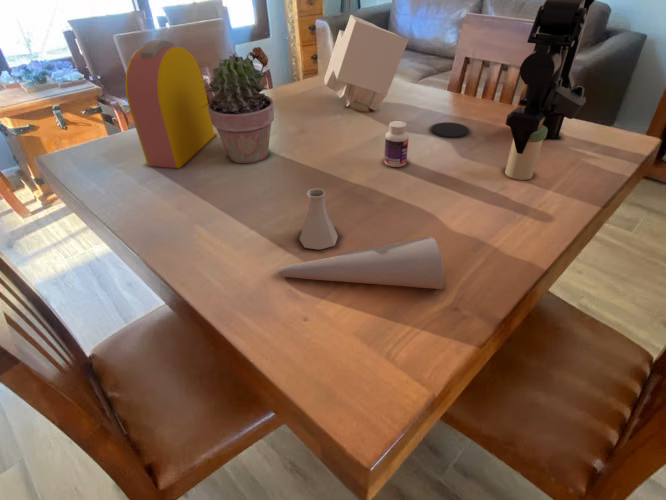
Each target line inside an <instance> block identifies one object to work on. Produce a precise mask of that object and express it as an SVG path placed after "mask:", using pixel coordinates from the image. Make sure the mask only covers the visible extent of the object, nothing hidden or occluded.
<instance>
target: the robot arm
mask: <svg viewBox="0 0 666 500" xmlns="http://www.w3.org/2000/svg"><path fill="white" fill-rule="evenodd" d="M595 1H596V0H545V1H544V2H543V5H540V6H539V8H538V10H537V12H536V16H535V19H534V21H533V23H532V24H533V25H532V26H531V30H530V33H529V35H528V38H527V41H526V42H527V44H535V45H534V48H533V51H532V52H531V53H530V54H529V55H528V56H527V57H525V59H523V61H522V63H521V65H520V68H519V76H520V79H521V80H522V81H523V83H524V85H525V88H524V93H523V97H522V98H521V99H519V103H518V105H520V106H516V108H514V109H513V110H511V111H510V112H509V113H508V114H507V116H506V119H505V125H506V126H507V127H509V128H510V132H511V135H512V140H513V139H514V143H515V147H516V151H517V153H519V154H522V153H523V151H524V149H525V147H526V145H527V143H528V141H529V139H530V137H531V135H532V133H534V132H536V131H538V130H539V129H540V128H541V127H542V125H544V126H545V127H547V129H548V131H547V136H546V138H545V139H547V140H548V139H549V140H550V139H551V140H560V139H561V138H562V136H561V135H560V133H561V130H562V126H563V123H564V119H565V118H567V119H569V120H572V119H573V118H574V117H575V116H576V115H577V114H578V112H579V111H580V110H581V108H583V106H584V105H585V103H587V99H586V98H587V97H586V96H584V95H585V87H583V86H582V85H580V84H577V85H576V86H575V84H576V83H575V80H574V76H573V73H572V71H573V68H574V65H575V62H576V57H577V54H578V51H579V48H580V44H581V41H582V38H583V35H584V32H585V28H586V25H587V22H588V18H589V15H590V11H591V9H592V6H593V4H594V3H595ZM522 106H523V107H522ZM545 139H544V140H545Z"/></svg>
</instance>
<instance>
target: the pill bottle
mask: <svg viewBox="0 0 666 500" xmlns="http://www.w3.org/2000/svg"><path fill="white" fill-rule="evenodd" d="M409 139H410V138H409V134H408V132H407V122H404V121H401V120H393V121H391V122H389V124H388V131H387V132H386V133H385V140H384V143H385V144H384V156H383V157H384V158H383V161H384V165H386V166H388V167H391V168H400V167H404V166H405V165H406V164H407V159H408V148H409Z"/></svg>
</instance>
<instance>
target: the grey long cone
mask: <svg viewBox="0 0 666 500" xmlns="http://www.w3.org/2000/svg"><path fill="white" fill-rule="evenodd" d="M439 247H440V246H439V245H438V242H437V240H436V239H435V238H434V237H432V236H431V235H428V236H424V237H419V238H413V239H408V240H403V241H398V242H394V243H388V244H383V245H379V246H373V247H368V248H363V249H358V250H353V251H348V252H343V253H338V254H337V255H336V256H330V257H325V258H324V257H323V258H319V259H314V260H308V261H302V262H297V263H291V264H286V265H283V266H281V267H279V268H278V269H277V274H278V275H279V276H280V277H285V278H294V279H303V280H304V279H305V280H317V281H327V282H329V281H330V282H343V283H354V284H355V283H357V284H369V285H381V286H394V287H395V286H396V287H409V288H419V289H420V288H421V289H432V290H433V289H436V290H443V289H444V287H445V286H444V285H445V271H444V265H443V259H442V254H441V250H440V248H439Z"/></svg>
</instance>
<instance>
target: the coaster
mask: <svg viewBox="0 0 666 500" xmlns="http://www.w3.org/2000/svg"><path fill="white" fill-rule="evenodd" d="M431 132H432V133H433V134H434V135H436V136H439V137H440V138H441V137H442V138H447V139H457V138H459V139H460V138H463V137H465V136H467V135H468V134H469V128H468V127H467V126H466V125H463V124H460V123H457V122H450V121H449V122H438V123H435V124H434V125H432V126H431Z"/></svg>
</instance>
